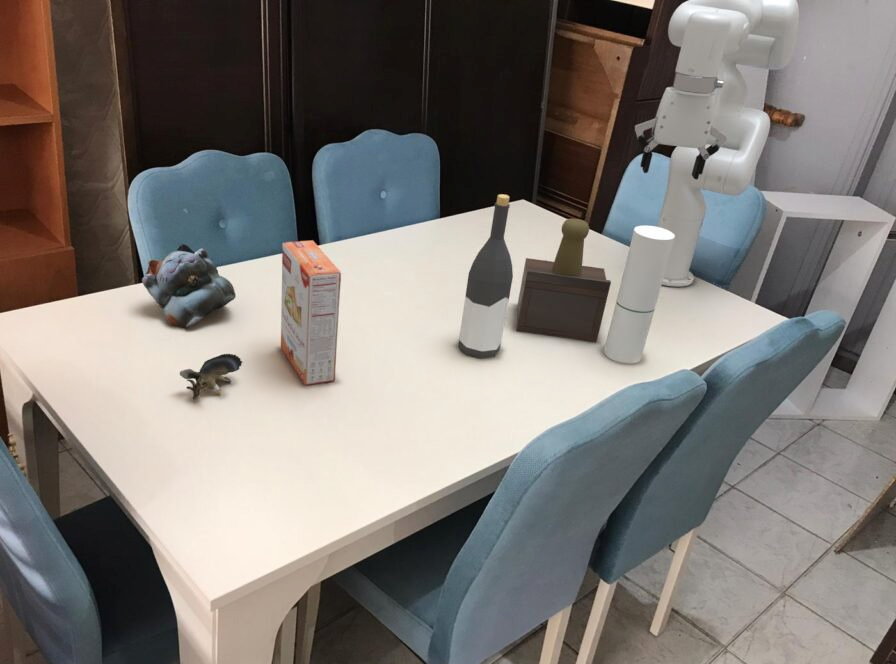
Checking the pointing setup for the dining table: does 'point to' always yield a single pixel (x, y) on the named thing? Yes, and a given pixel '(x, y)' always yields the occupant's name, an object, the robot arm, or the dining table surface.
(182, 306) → the lucky cat figurine
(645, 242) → the cylindrical container
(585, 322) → the dark wooden chest
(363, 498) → the dining table surface
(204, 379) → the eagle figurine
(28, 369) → the dining table surface
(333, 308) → the cracker box
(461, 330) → the wine bottle
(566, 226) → the olive brown pepper mill
